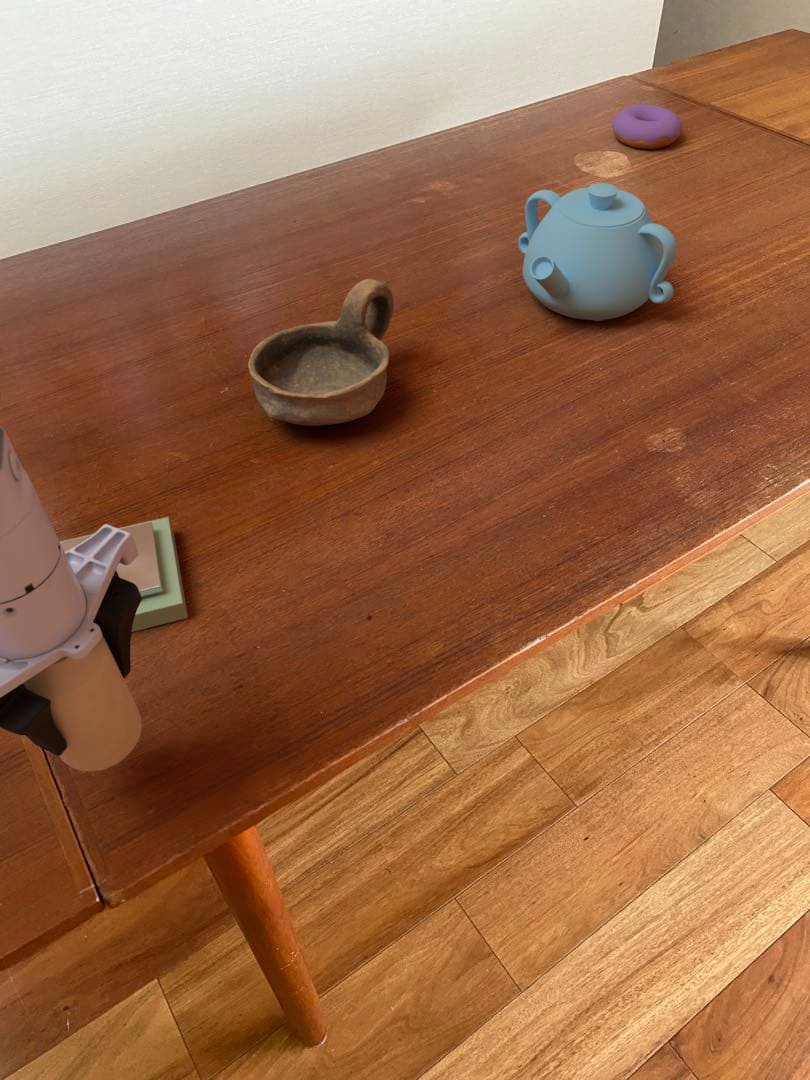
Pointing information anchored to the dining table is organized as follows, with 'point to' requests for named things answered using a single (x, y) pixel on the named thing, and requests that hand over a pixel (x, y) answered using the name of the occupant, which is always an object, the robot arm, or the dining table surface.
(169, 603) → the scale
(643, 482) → the dining table surface
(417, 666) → the dining table surface
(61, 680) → the candle
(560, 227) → the teapot
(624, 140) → the donut
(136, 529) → the thin square metal plate
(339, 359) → the bowl
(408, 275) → the dining table surface
